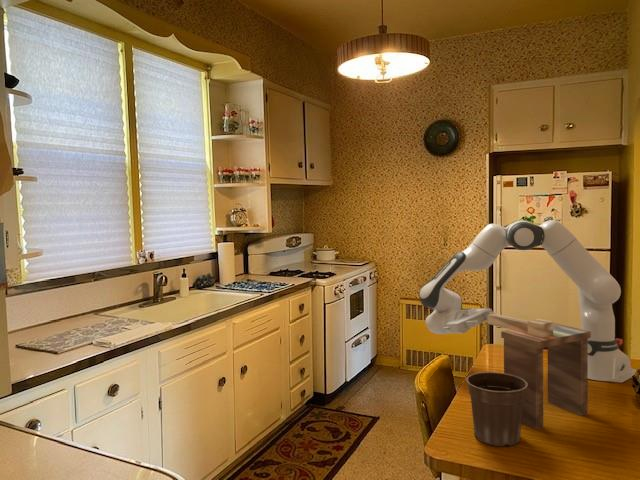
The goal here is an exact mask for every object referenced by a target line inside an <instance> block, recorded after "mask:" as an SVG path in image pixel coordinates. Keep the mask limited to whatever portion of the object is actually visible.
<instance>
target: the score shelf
mask: <svg viewBox="0 0 640 480" xmlns="http://www.w3.org/2000/svg"><path fill="white" fill-rule="evenodd" d="M500 334H501V335H500V337H501V339H503V373H505V374H510V375H514V376H517V377H520V378H522V379H524V380H525V381H526V382H527V383H528V387H527V388H526V392H525V400H524V402H523V412H522V422H521V424H523V425H525V426H528V427H529V428H532V429H533V430H540V429H543V428H544V348H547V403H548V404H550V405H553V406H555V407H558V408H561V409H563V410H565V411H566V412H567V411H568V412H570V413H572V414H575V415H578V416H580V417H582V416H585V415H588V401H589V400H588V397H589V396H588V395H589V394H588V384H589V381H588V338H591V331H586V330H582V329H581V328H577V327H572V326H568V325H564V324H559V323H555V322H553V335H551V336H547V337H543V338H542V337H537V336H533V335H529V334H528V333H525V332H520V331H516V330H512V329H506V330H502V331H501V332H500Z"/></svg>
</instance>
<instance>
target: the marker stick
mask: <svg viewBox="0 0 640 480" xmlns="http://www.w3.org/2000/svg"><path fill="white" fill-rule="evenodd" d="M486 323H487V324H488V325H492V326H495V327H501V328H505V329H506V330H510V329H512V330H516V331H520V332H525V333H528V334H529V335H533V336H537V337H542V338H543V337H547V336H551V335H553V323H554V321H552V320H551V321H550V320H547V319H542V318H535V319H531V320H526V319H522V318H516V317H511V316H507V315H502V314H497V313H496V314H489V315H487V321H486Z"/></svg>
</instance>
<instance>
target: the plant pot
mask: <svg viewBox="0 0 640 480" xmlns="http://www.w3.org/2000/svg"><path fill="white" fill-rule="evenodd" d="M465 380H466V383H467V386H468V395H469V396H470V402H471V413H472V414H471V415H472V422H473V434H474V437H476V438H477V440H478V441H480V442H482V443H484V444H486V445H489V446H495V447H504V446H509V447H511V446H515V445H517V444H518V443H520V441H521V433H522V432H521V431H522V423H521V422H522V412H523V402H524V400H525V392H526V388H527V387H528V383H527V382H526V381H525V380H524V379H522V378H520V377H517V376H514V375H510V374H505V373H504V372H497V371H485V372H483V371H482V372H481V371H480V372H476V373H472V374H470V375H468V376H467V377H466V379H465Z"/></svg>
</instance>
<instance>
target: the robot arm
mask: <svg viewBox="0 0 640 480" xmlns="http://www.w3.org/2000/svg"><path fill="white" fill-rule="evenodd" d="M509 246H510V247H513V248H514V249H516V250H517V251H518V250H519V251H528V250H531V249H534V248H536V247H542V248H543V249H544V250H545V251H546V252H547V254H548V255H549V256H550V257H551V259H552V260H553V261H554V262H555V263H556V264H557V265H558V266H559V269H561V270H562V272H564V273H565V274H566V275H567V276H568V278H569V279H570V280H572V282H573V283H574V284H575V285H576V286H577V294H578V303H579V309H580V310H579V312H580V329H582V330H586V331H591V338H588V379H589V380H592V381H593V380H594V381H598V382H599V381H600V382H613V383H624V382H625V381H628V380H630V379H631V378H633V377H632V376H633V375H634V374H635V372H636V371H637V369H634V368H632V366H631V359H630V357H629V356H628V355H627V354H626V353H624V352H623V351H621V349H620V348H619V346H618V345H622V344H623V341H624V340H623V339H622V338H617V337H616V318H615V314H614V309H613V304H615V302H617V301H618V300H619V299H620V296H621V293H622V290H621V285H620V284H619V283H618V281H617V280H616V278H614V277H613V276H612V275H611V273H610V272H609V271H608V270H607V269H606V268H605V266H604V265H602V264H601V263H600V262H599V261H598V260H597V259H596V258H595V257H594V256H593V255H592V254H591V253H590V252H589V251H588V250H587V249H586V248H585V247H584V245H583V244H582V243H581V242H580V241H579V240H578V239H577V238H576V236H575V235H574V233H572V232H571V231H570V230H569V229H568V228H567V227H565V226H564V225H563V224H562V223H560V222H559V221H558V220H554V219H548V220H546V221H544V222H542V223H541V224H538V225H536V224H534V223H532V222H530V221H528V220H524V219H518V220H515V221H512V222H511V223H509V224H506V225H504V226H502V225H501V224H497V223H489V224H487V225H486V226H485V227H484V228H483V229H481V231H480V232H479V233H478V234H476V236H475V238H474V239H473V240H472V242H471V243H470V244H469V245H468V247H466V248H465V249H463V250H461V251H460V252H459V251H458V252H457V253H455V254H453V256H451V258H449V260H447V262H446V263H445V264H444V265H443V266H442V267H441V268H440V269H439V270H438V272H437V273H436V274H435V275H434V276H433V277H432V278H431V279H430V280H428V281H427V282H426V283H425V284H424V285H423V286H422V287H421V288H420V289H419V294H418V297H419V298H418V299H419V301H420V303H421V305H422V306H423V307H425V308H428V309H431V310H433V311H432V312H431V313H430V314H429V315H428V316H426V319H425V326H426V328H427V329H428V330H429V332H431V333H433V334H435V335H448V334H449V335H450V334H465V333H467V332H468V331H469V330H470V329H471V328H474V327H478V326H480V325H481V324H483V323H485V322H487V315H489V314H497V313H496V312H494V311H493V310H492V308H490V307H488V308H487V307H486V308H484V307H483V308H474V307H470V308H466V309H465V308H464V309H463V300H462V297H461V295H460V294H458V293H456V292H454V291H452V290H450V289H447V288H445V287H446V286H447V285H448V283H449V282H450V281H451V280H452V279H453V278H454V277H455V276H456V275H457V274H458V273H462V272H466V271H471V272H473V271H474V272H477V271H478V272H481V271H484V270H488V269H489V268H491V266H492V265H493V264H494V263H495V261H496V259H497V258H498V257H499V255H500V254H501V252H502V251H503V250H504V249H505V248H507V247H509ZM615 337H616V338H615Z"/></svg>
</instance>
